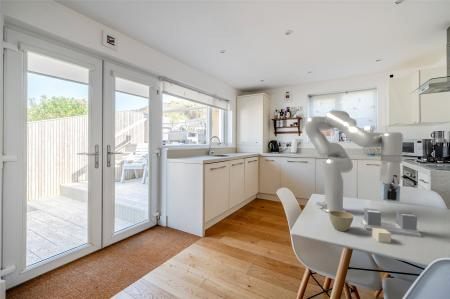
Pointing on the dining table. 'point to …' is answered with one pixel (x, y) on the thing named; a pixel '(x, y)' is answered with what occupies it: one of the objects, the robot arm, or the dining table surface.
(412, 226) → the rail fixture
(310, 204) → the dining table surface
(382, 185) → the module
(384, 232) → the beige cube
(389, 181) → the robot arm
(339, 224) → the olive bowl
